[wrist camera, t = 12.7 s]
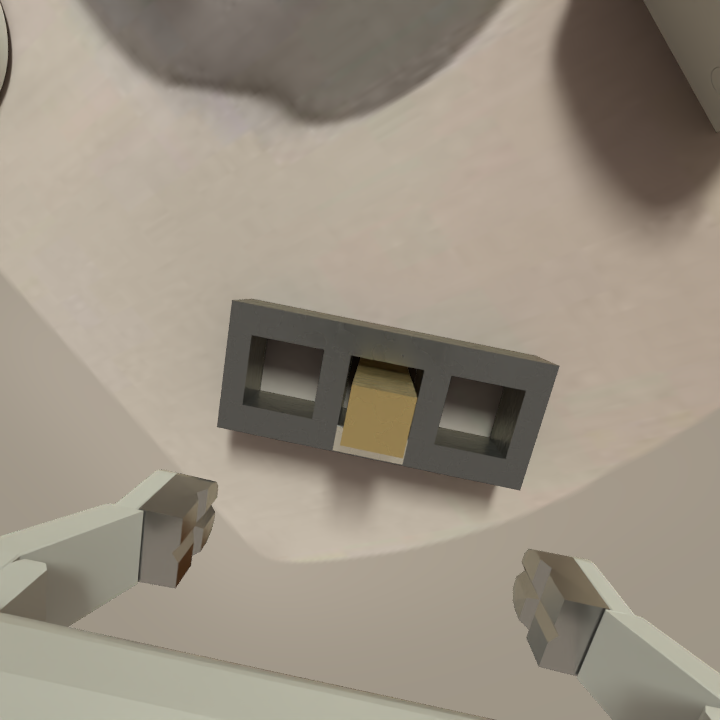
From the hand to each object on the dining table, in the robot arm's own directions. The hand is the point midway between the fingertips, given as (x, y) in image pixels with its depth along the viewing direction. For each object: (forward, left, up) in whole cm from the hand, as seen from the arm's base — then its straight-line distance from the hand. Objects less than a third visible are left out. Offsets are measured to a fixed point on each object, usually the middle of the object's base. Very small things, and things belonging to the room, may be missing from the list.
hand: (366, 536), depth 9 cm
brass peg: (+1, -2, -22) cm, 22 cm away
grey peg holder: (+1, -2, -22) cm, 21 cm away
